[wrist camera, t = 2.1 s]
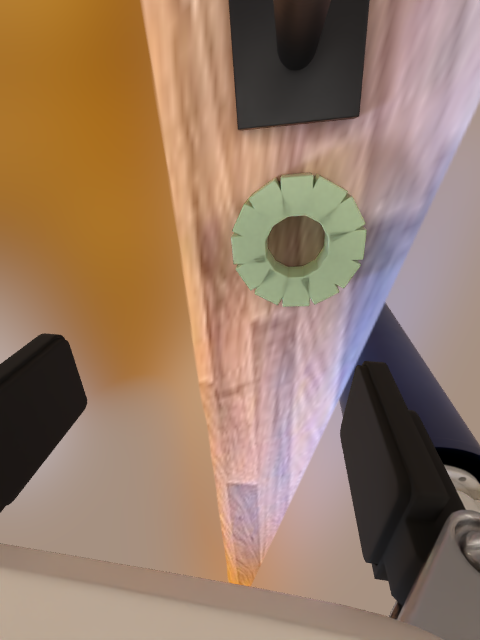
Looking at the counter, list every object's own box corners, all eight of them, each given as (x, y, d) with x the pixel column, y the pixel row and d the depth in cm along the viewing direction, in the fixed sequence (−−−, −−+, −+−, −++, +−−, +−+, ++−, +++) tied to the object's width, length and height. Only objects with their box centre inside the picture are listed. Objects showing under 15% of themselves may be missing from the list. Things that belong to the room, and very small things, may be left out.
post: (371, -56, 17) (551, -497, 5) (356, 118, 20) (442, 75, 9) (228, -29, 18) (129, -339, 7) (239, 130, 22) (188, 106, 10)
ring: (364, 168, 22) (374, 169, 19) (351, 292, 26) (358, 305, 24) (231, 178, 23) (225, 181, 21) (241, 295, 28) (237, 307, 26)
